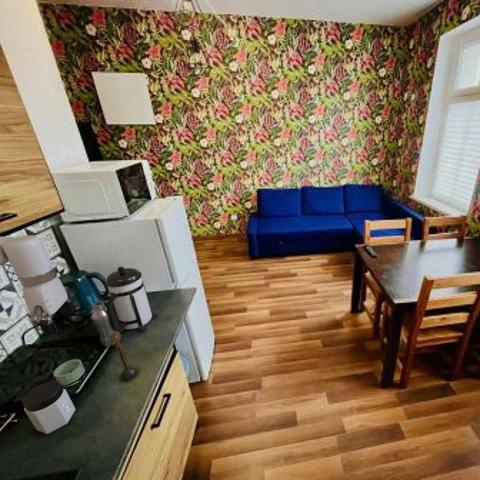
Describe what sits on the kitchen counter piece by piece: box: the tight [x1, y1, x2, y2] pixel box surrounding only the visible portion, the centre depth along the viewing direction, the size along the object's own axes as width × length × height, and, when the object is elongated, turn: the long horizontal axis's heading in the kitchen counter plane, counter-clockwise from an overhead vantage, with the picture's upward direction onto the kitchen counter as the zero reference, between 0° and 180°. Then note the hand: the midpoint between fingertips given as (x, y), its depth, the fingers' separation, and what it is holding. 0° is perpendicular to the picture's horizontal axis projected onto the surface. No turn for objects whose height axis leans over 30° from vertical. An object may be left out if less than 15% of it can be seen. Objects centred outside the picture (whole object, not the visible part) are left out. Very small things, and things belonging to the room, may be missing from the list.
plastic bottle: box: [91, 300, 119, 348], centre depth 108 cm, size 6×7×20 cm
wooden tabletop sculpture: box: [110, 331, 138, 382], centre depth 93 cm, size 6×5×20 cm
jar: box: [21, 380, 76, 435], centre depth 80 cm, size 9×8×12 cm
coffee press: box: [104, 266, 157, 333], centre depth 116 cm, size 17×16×30 cm
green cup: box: [53, 359, 86, 388], centre depth 95 cm, size 7×7×6 cm
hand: (60, 323), depth 85 cm, fingers open, 9 cm apart
